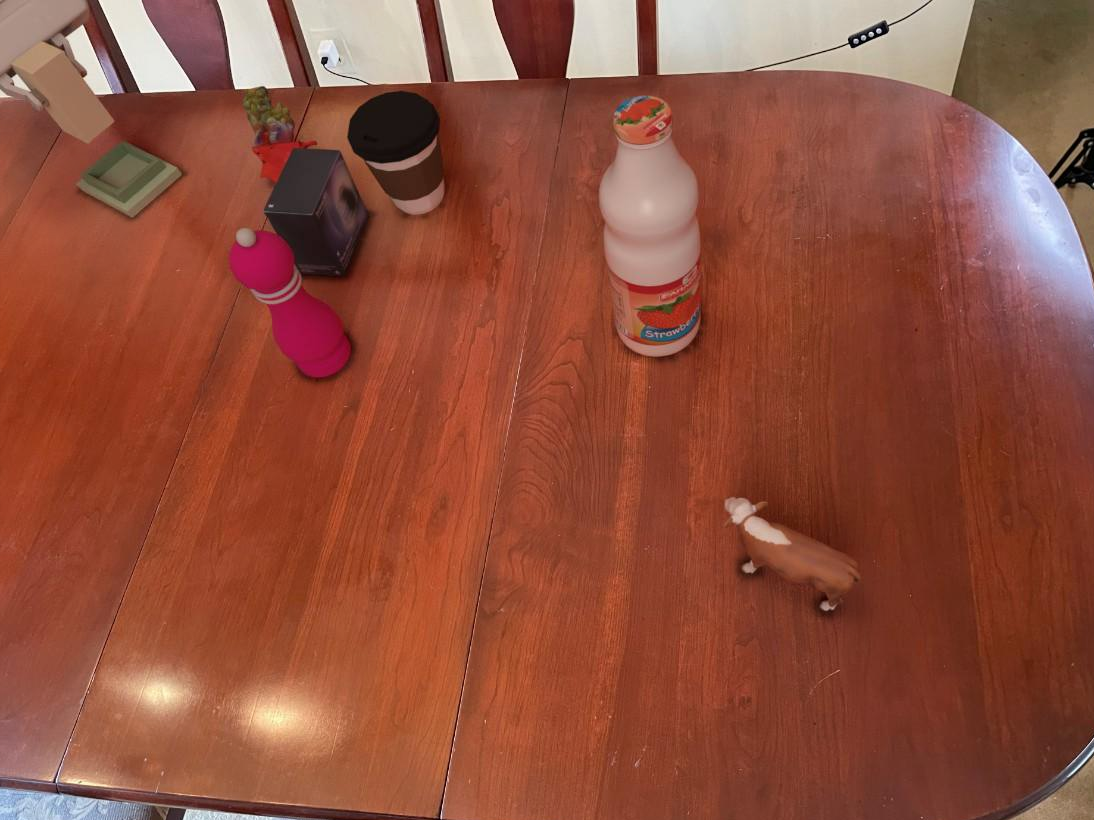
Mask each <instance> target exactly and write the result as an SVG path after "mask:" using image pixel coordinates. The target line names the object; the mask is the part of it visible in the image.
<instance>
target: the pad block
mask: <svg viewBox="0 0 1094 820" xmlns="http://www.w3.org/2000/svg"><path fill="white" fill-rule="evenodd" d="M11 64H12V66H13V67H12V69H13V70H14V71H15V72H16V73H17V76H18V77H19V78H20V80H21V81H22V83H23V84H24V85H25V86H26V87H27V88H28V90H29V91H32V90H33V89H35V88H36V89H37V90H38V91H39V92H41V95H44V96H45V97H46V98H47V99H48V100H49V105H48V106H47V107H46V108H44V109H45V110H46V112H47V113H48V114H49V115H50V117H51V118H52V119H53V120H54V122H56V124H57V125H58V127H60V129H61V130H62V132H64V133H66V134H68V135H70V136H72V137H74V138H76V139H78V140H79V141H82V142H84V143H86V144H89V143H91V142H92V141H93V140H94V139H96V138H97V137H98V136H99V135H101V133H103V132H104V131H105V130H106V129H108V128H109V127H110V126H111V125H112V124H114V123H115V119H114V118H113V117H112V116H111V114H110V113H109V111H108V110H107V108H106V107H105V106H104V105H103V103H102V102H101V101H100V99H99V98H98V97H97V95H96V94H95V93H94V91H93V89H92V88H91V86H90V85H89V84H88V83H87V82H86V80H85V79H84V78H82V76H81V75H80V74H79V72H78V71H77V69H76V68H75V67H74V65H73V64H72V63H71V61H70V60H69V59H68V57H67V56H66V55H65V53H64V51H62V50H60V49H58V48H56V47H53V46H51V45H49V44H47V43H45V42H43V41H41V42H39V43H38V44H36V45H35V46H34V47H32V48H31V49H30V50H28V51H27V52H26V53H24V54H23V55H22V56H20V57H19V58H18V59H16V60H15V61H14V62H12V63H11Z"/></svg>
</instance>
